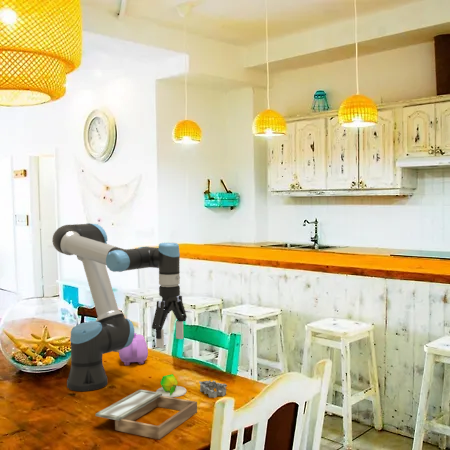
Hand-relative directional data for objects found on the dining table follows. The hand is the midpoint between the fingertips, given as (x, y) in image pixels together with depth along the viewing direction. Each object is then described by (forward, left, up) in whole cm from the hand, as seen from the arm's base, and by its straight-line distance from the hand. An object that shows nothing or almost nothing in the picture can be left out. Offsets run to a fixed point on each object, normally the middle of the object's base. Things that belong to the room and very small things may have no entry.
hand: (170, 342), depth 200 cm
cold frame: (+7, -25, -18) cm, 31 cm away
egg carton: (+14, +6, -19) cm, 24 cm away
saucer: (0, 0, -18) cm, 18 cm away
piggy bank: (-36, +27, -19) cm, 49 cm away
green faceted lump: (0, -1, -18) cm, 18 cm away
